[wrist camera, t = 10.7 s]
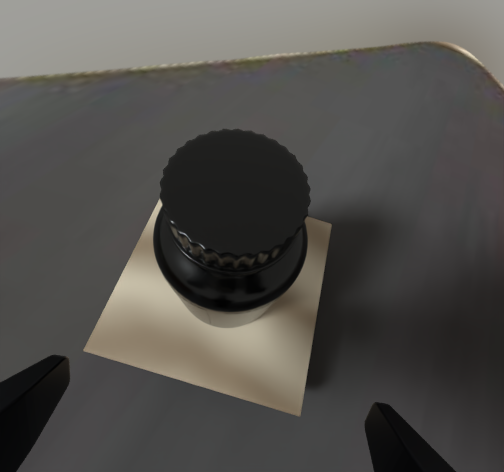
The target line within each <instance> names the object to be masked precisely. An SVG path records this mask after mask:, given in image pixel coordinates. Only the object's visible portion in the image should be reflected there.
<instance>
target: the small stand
mask: <svg viewBox="0 0 504 472" xmlns="http://www.w3.org/2000/svg"><path fill="white" fill-rule="evenodd" d="M161 207H162V202H161V200H159V202H158V203H157V205H156V207H155V209H154V211H153V213H152V215H151V217H150V219H149V221H148V223H147V225H146V227H145V229H144V231H143V233H142V235H141V237H140V239H139V241H138V243H137V245H136V247H135V249H134V251H133V253H132V255H131V257H130V259H129V261H128V263H127V265H126V267H125V269H124V271H123V273H122V275H121V277H120V279H119V281H118V283H117V285H116V287H115V289H114V291H113V293H112V295H111V297H110V299H109V301H108V303H107V305H106V307H105V309H104V311H103V313H102V315H101V317H100V319H99V321H98V323H97V325H96V327H95V328H94V330H93V332H92V334H91V336H90V338H89V340H88V342H87V344H86V346H85V348H84V350H83V351H86V352H89V353H92V354H96V355H99V356H102V357H105V358H109V359H112V360H115V361H119V362H122V363H125V364H129V365H132V366H135V367H138V368H142V369H145V370H148V371H152V372H155V373H158V374H161V375H165V376H168V377H171V378H175V379H178V380H181V381H185V382H188V383H191V384H194V385H198V386H201V387H204V388H208V389H211V390H214V391H218V392H221V393H224V394H227V395H231V396H234V397H237V398H241V399H244V400H247V401H251V402H254V403H257V404H260V405H264V406H267V407H270V408H274V409H277V410H280V411H284V412H287V413H290V414H293V415H297V416H300V414H301V408H302V402H303V396H304V390H305V384H306V378H307V372H308V366H309V360H310V354H311V348H312V342H313V335H314V329H315V323H316V317H317V311H318V305H319V299H320V293H321V287H322V281H323V275H324V269H325V263H326V257H327V250H328V244H329V238H330V232H331V226H332V224H330V223H327V222H323V221H320V220H317V219H314V218H310V217H307V218H306V219H305V224H306V228H307V234H308V248H307V255H306V259H305V262H304V265H303V268H302V270H301V272H300V274H299V276H298V277H297V279H296V280H295V282H294V283H293V285H292V286H291V287H290V288H289V289H288V290H287V291H286V292H285V293H284V294H283V295H282V296H281V297H280V298H279V299H278V300H277V301H276V302H275V303H274V304H273V305H272V306H270V307H269V308H268V309H267V310H266V311H265V312H264V313H263V314H262V315H260V316H259V317H258V318H257V319H255V320H253V321H252V322H250V323H248V324H246V325H243V326H240V327H235V328H219V327H214V326H211V325H208V324H206V323H204V322H202V321H201V320H199V319H198V318H196V317H195V316H194V315H193V314H192V313H191V312H190V311H189V310H188V309H187V307H186V306H185V305H184V304H183V302H182V301H181V300H180V298H179V297H178V296H177V295H176V293H175V292H174V291H173V289H172V288H171V287H170V286H169V284H168V283H167V281H166V280H165V278H164V277H163V275H162V273H161V271H160V269H159V267H158V264H157V261H156V258H155V254H154V248H153V231H154V225H155V221H156V218H157V215H158V213H159V211H160V208H161Z"/></svg>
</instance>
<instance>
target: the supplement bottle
mask: <svg viewBox="0 0 504 472" xmlns="http://www.w3.org/2000/svg"><path fill="white" fill-rule="evenodd" d="M163 175H164V176H163V178H162V179H161V181H160V186H161V189H162V190H161V193H160V200H161V202H162V207H161V208H160V211H159V213H158V215H157V218H156V221H155V225H154V231H153V248H154V254H155V258H156V261H157V264H158V267H159V269H160V271H161V273H162V275H163V277H164V278H165V280H166V281H167V283H168V284H169V286H170V287H171V288H172V289H173V291H174V292H175V293H176V295H177V296H178V297H179V298H180V300H181V301H182V302H183V304H184V305H185V306H186V307H187V309H188V310H189V311H190V312H191V313H192V314H193V315H194V316H195V317H196V318H198V319H199V320H201V321H202V322H204V323H206V324H208V325H211V326H214V327H219V328H235V327H240V326H243V325H246V324H248V323H250V322H252V321H253V320H255V319H257V318H258V317H259V316H260V315H262V314H263V313H264V312H265V311H266V310H267V309H268V308H269V307H270V306H272V305H273V304H274V303H275V302H276V301H277V300H278V299H279V298H280V297H281V296H282V295H283V294H284V293H285V292H286V291H287V290H288V289H289V288H290V287H291V286H292V285H293V283H294V282H295V280H296V279H297V277H298V276H299V274H300V272H301V270H302V268H303V265H304V262H305V259H306V255H307V248H308V234H307V228H306V224H305V219H306V218H307V216H308V207H309V205H310V202H311V200H310V197H309V193H310V187H309V185H308V183H307V180H308V177H307V175H306V174H305V173H304V172H303V166H302V165H301V164H300V163H299V162H298V161H297V159H296V157H295V155H293V154H292V153H290V152H289V151H288V149H287V148H286V147H284V146H282V145H280V144H279V143H278V142H277V141H276V140H274V139H270V138H267V137H266V136H265V135H263V134H256V133H254V132H252V131H243V130H240V129H233V130H229V129H222V130H220V131H210V132H209V133H207V134H203V135H199V136H197V137H196V138H195V139H193V140H189V141H187V142H186V144H185V145H184V146H183V147H180V148H178V149H177V151H176V154H175V155H173V156H172V157H171V158H169V162H168V165H167V166H166V167H165V168H164V170H163Z"/></svg>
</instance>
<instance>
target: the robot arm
mask: <svg viewBox="0 0 504 472" xmlns="http://www.w3.org/2000/svg"><path fill="white" fill-rule="evenodd" d="M69 382H70V365H69V358H68V357H66V356H60V355H51V356H49V357H47V358H45V359H43V360H41V361H39V362H38V363H36V364H34V365H32V366H30V367H28V368H26V369H25V370H23V371H21V372H19V373H17V374H15V375H13V376H12V377H10V378H8V379H6V380H4V381H2V382H0V472H16V471H17V470H18V468H19V467H20V465H21V464H22V462H23V461H24V460H25V458H26V456H27V455H28V453H29V452H30V450H31V449H32V447H33V446H34V444H35V442H36V441H37V439H38V437H39V436H40V434H41V432H42V430H43V429H44V427H45V425H46V423H47V422H48V420H49V418H50V417H51V415H52V413H53V411H54V410H55V408H56V406H57V404H58V403H59V401H60V399H61V397H62V396H63V394H64V392H65V390H66V389H67V387H68V385H69ZM365 432H366V437H367V441H368V446H369V450H370V455H371V459H372V464H373V468H374V472H456V471H455V470H454V469H453V468H452V467H451V466H450V465H449V464H448V463H447V462H446V461H445V460H444V459H443V458H442V457H441V456H440V455H439V454H438V453H437V452H436V451H435V450H434V449H433V448H432V447H431V446H430V445H429V444H428V443H427V442H426V441H425V440H424V439H423V438H422V437H421V436H420V435H419V434H418V433H417V432H416V431H415V430H414V429H413V428H412V427H411V426H410V425H409V424H408V423H407V422H406V421H405V420H404V419H403V418H402V417H401V416H400V415H399V414H398V413H397V412H396V411H395V410H394V409H393V408H392V407H391V406H390V405H388V404H385V403H379V402H375V403H373V405H372V406H371V409H370V411H369V413H368V415H367V418H366V420H365Z"/></svg>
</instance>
